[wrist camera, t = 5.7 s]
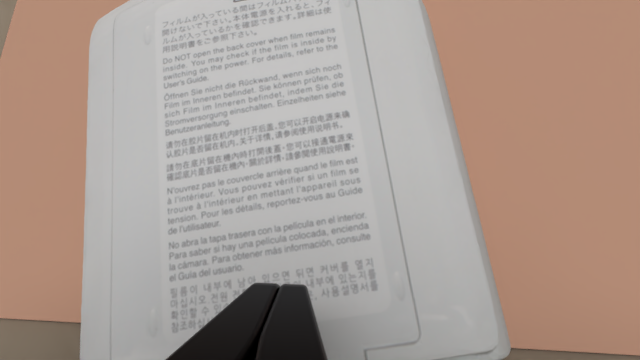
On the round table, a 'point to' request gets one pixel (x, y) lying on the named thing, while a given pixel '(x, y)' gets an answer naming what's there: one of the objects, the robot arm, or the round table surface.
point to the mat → (475, 136)
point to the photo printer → (280, 179)
